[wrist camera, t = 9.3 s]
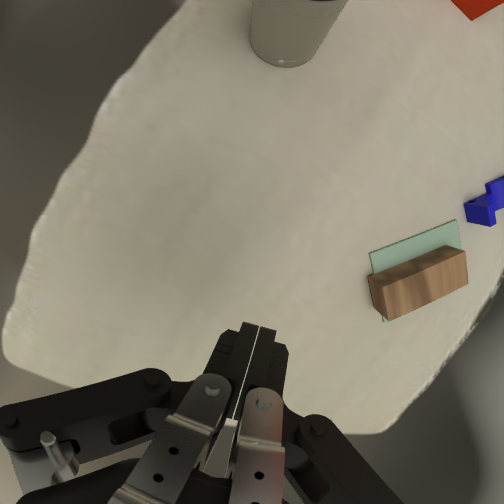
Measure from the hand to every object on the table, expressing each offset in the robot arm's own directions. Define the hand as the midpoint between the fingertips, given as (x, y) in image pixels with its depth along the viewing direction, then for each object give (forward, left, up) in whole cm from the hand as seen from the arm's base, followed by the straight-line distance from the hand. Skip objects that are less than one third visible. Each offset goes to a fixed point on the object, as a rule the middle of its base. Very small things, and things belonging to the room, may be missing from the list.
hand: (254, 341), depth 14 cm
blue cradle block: (-15, +38, -28) cm, 49 cm away
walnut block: (+4, +19, -25) cm, 32 cm away
